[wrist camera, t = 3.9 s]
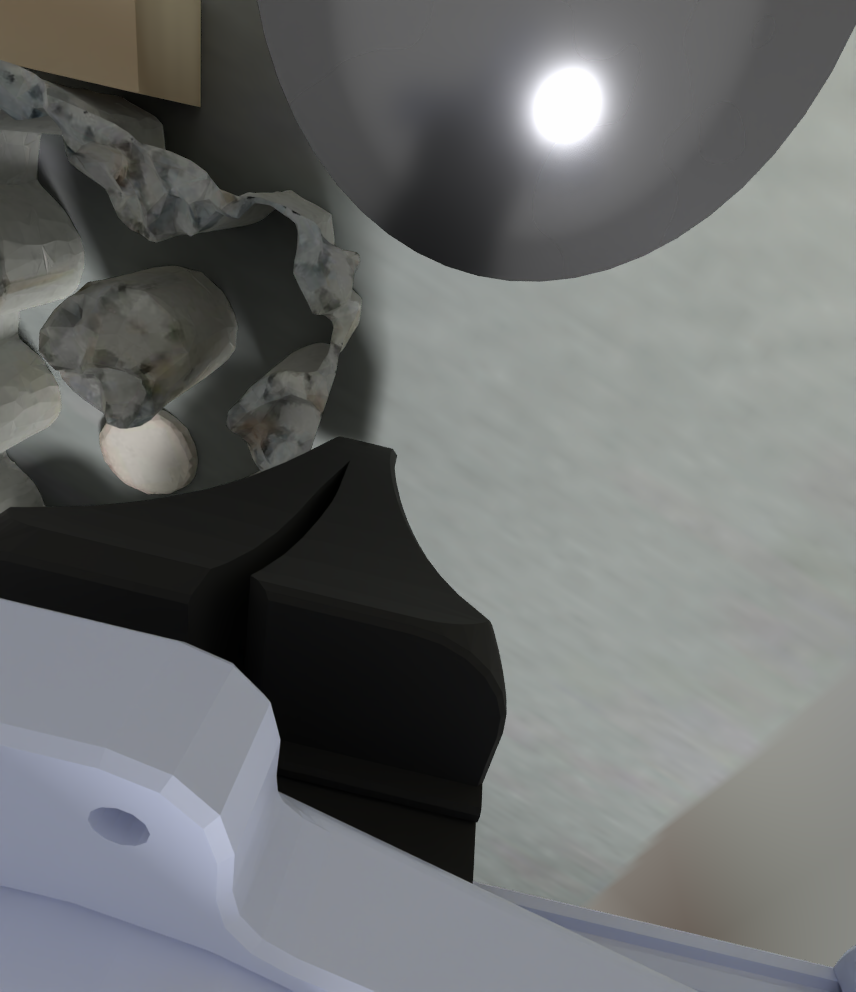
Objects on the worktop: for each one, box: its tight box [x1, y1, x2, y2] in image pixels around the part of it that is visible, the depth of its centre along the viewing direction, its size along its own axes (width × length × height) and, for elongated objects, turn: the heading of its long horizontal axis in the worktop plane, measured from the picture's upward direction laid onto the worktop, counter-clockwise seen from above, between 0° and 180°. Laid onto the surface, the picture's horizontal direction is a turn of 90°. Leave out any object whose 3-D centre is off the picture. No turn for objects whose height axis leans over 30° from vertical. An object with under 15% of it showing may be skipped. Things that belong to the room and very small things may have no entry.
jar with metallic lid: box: [257, 0, 856, 281], centre depth 7 cm, size 5×5×6 cm
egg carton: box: [0, 60, 362, 513], centre depth 11 cm, size 11×8×4 cm
